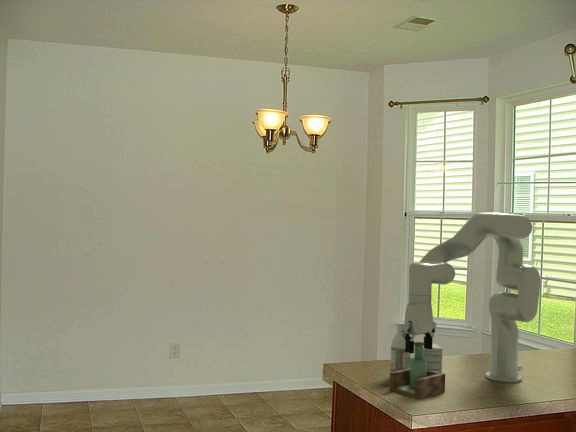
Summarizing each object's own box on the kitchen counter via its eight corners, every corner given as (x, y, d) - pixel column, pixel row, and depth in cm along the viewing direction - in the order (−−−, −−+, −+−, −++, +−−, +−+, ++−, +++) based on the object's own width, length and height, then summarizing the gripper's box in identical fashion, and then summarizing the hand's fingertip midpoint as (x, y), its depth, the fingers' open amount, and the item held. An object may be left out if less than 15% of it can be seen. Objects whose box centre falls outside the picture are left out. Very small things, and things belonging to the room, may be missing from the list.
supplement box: (415, 378, 221) (416, 343, 221) (435, 378, 222) (436, 343, 222) (421, 383, 214) (422, 347, 214) (442, 383, 214) (443, 347, 214)
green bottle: (416, 384, 208) (417, 340, 208) (429, 388, 204) (431, 343, 204) (405, 386, 205) (407, 342, 205) (419, 390, 200) (420, 345, 200)
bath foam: (399, 381, 215) (401, 325, 215) (386, 377, 221) (387, 322, 221) (413, 379, 219) (415, 323, 219) (400, 375, 225) (401, 320, 225)
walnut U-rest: (416, 383, 213) (416, 366, 213) (444, 392, 204) (445, 374, 204) (389, 390, 204) (390, 372, 204) (418, 399, 195) (419, 380, 195)
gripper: (426, 296, 213) (425, 345, 213) (394, 300, 202) (393, 352, 202) (444, 299, 207) (443, 349, 207) (412, 303, 196) (411, 356, 196)
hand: (418, 350), depth 204 cm, fingers open, 9 cm apart
